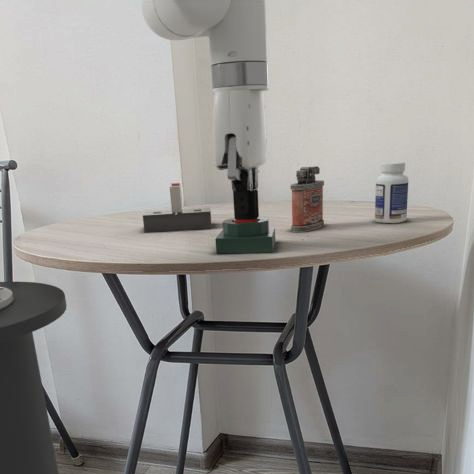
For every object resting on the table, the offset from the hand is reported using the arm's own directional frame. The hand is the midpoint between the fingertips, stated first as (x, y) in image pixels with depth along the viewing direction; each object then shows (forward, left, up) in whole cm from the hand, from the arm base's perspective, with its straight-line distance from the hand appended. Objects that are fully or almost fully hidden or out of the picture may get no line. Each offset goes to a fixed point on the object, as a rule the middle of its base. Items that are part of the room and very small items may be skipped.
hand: (246, 218), depth 84 cm
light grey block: (+8, +24, -1) cm, 25 cm away
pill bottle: (+30, -7, -4) cm, 31 cm away
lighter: (+18, +2, -4) cm, 18 cm away
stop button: (0, 0, -2) cm, 2 cm away
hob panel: (+8, +24, -4) cm, 26 cm away
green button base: (0, 0, -4) cm, 4 cm away
